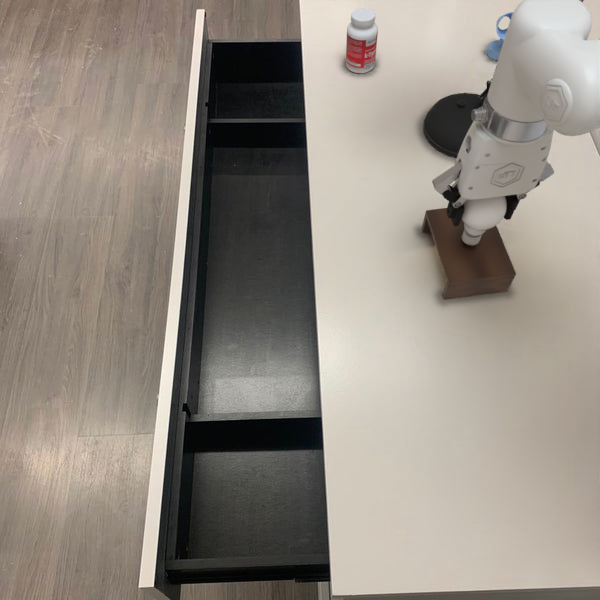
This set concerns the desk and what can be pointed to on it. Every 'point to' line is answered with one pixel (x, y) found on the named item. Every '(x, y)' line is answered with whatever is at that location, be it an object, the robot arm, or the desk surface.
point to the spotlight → (496, 45)
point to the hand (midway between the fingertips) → (479, 214)
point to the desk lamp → (452, 120)
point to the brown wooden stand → (469, 258)
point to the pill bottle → (361, 41)
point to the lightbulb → (481, 217)
